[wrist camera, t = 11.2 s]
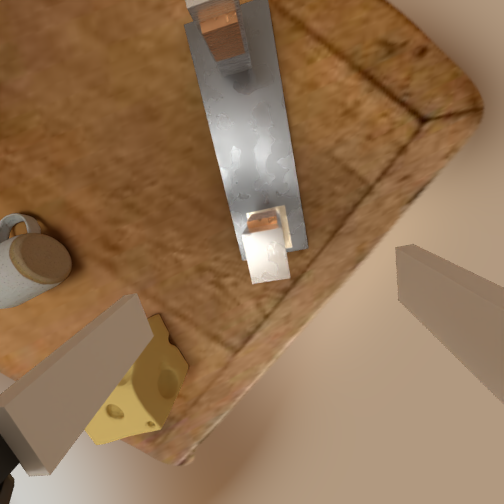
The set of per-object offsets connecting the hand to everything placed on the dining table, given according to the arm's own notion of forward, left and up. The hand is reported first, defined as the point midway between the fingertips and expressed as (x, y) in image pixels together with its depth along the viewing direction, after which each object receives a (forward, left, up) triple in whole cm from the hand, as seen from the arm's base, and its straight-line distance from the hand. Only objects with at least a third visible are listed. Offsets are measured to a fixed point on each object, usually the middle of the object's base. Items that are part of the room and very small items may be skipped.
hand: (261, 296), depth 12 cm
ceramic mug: (-3, -31, -18) cm, 36 cm away
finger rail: (-9, 0, -18) cm, 20 cm away
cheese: (+15, -22, -18) cm, 32 cm away
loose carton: (0, 0, -16) cm, 16 cm away
